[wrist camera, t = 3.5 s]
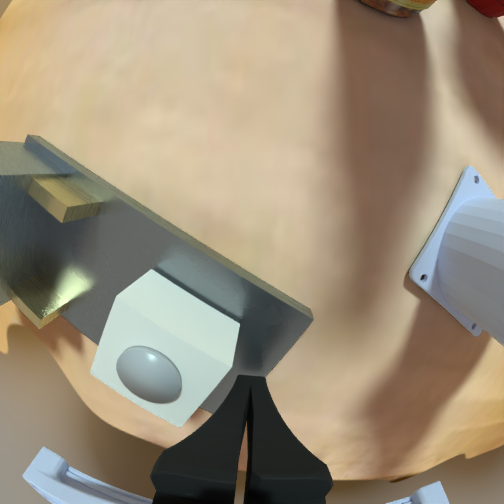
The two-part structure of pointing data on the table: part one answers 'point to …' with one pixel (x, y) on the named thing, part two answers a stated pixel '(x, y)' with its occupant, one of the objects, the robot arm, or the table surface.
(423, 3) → the sauce bottle
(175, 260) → the base
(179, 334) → the white button box
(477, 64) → the table surface
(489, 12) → the plastic cup
